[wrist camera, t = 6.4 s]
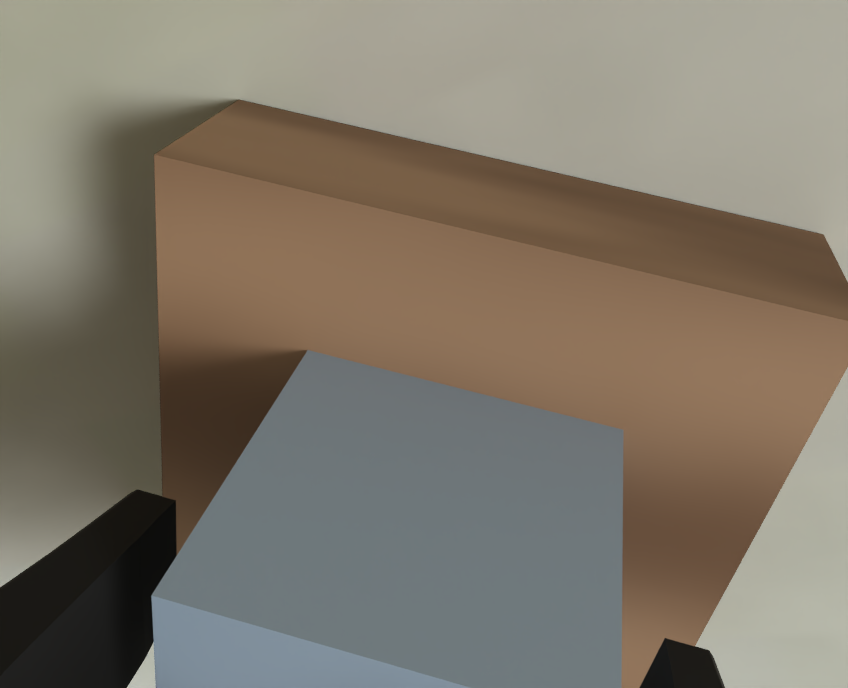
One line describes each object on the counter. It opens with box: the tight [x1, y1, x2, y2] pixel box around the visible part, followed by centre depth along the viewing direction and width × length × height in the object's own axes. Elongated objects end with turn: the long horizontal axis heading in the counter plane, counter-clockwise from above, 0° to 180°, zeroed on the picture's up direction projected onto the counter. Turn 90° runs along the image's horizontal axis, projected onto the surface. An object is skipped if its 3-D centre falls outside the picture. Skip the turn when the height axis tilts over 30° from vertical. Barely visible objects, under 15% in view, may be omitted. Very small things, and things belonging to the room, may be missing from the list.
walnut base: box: [154, 100, 848, 688], centre depth 15 cm, size 10×10×3 cm
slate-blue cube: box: [151, 350, 623, 688], centre depth 12 cm, size 5×5×5 cm
